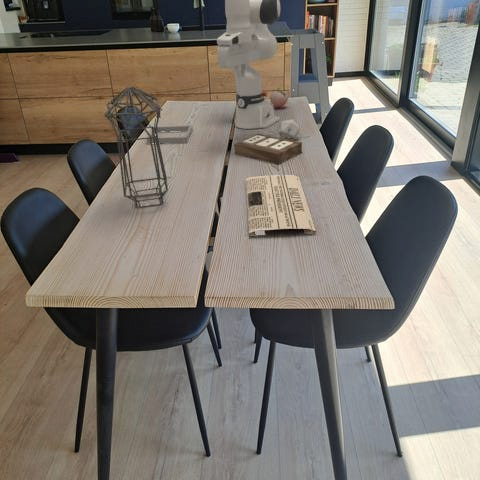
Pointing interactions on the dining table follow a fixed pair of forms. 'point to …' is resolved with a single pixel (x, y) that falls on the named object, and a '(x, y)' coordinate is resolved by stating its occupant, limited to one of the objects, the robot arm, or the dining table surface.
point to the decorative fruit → (278, 98)
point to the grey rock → (288, 130)
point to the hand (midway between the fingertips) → (241, 77)
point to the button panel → (268, 150)
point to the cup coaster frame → (173, 139)
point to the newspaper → (277, 204)
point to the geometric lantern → (155, 138)
